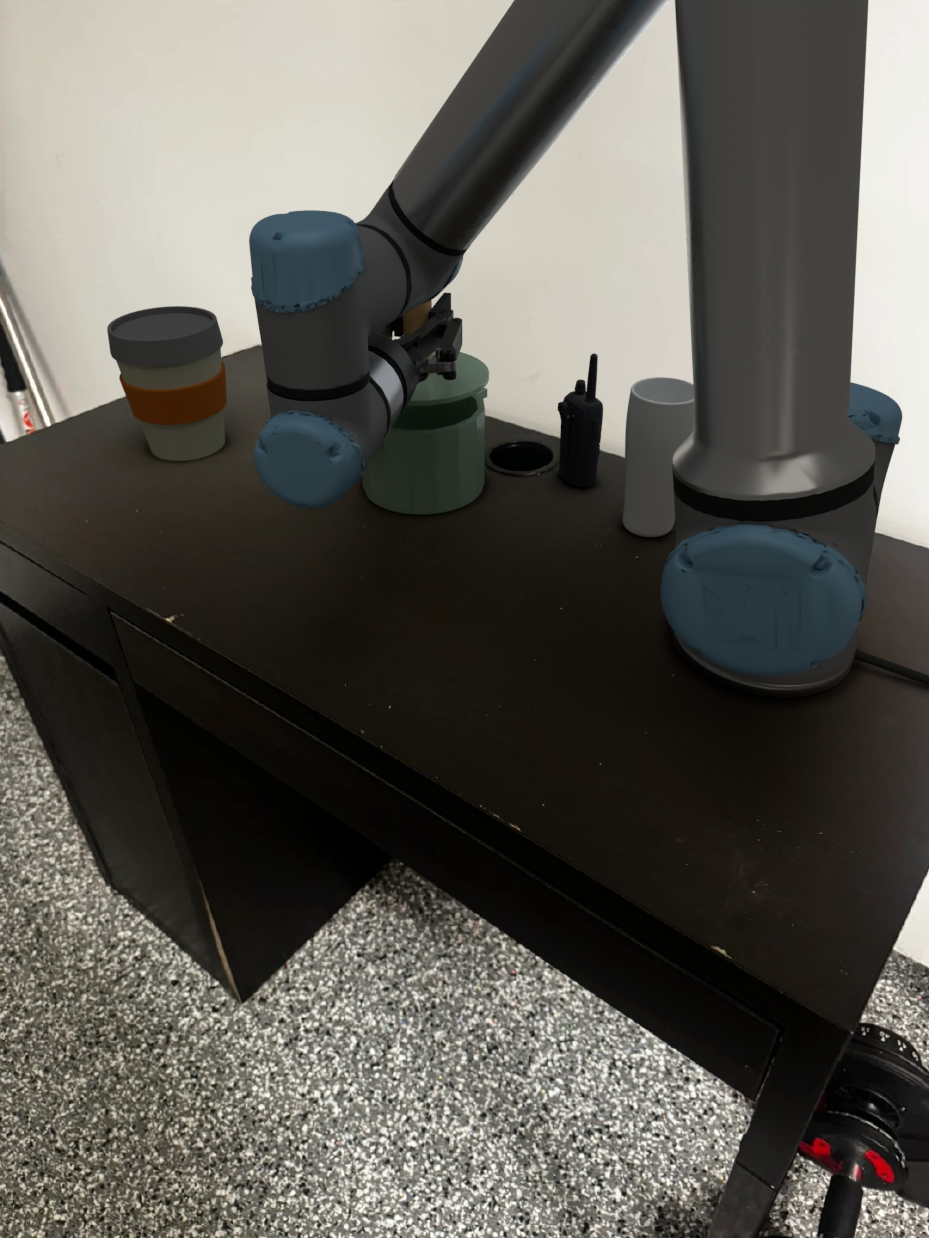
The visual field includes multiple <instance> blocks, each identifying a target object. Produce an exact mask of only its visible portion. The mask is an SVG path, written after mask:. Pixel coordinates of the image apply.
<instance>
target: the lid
mask: <svg viewBox="0 0 929 1238" xmlns="http://www.w3.org/2000/svg"><path fill="white" fill-rule="evenodd" d="M432 302H433V299H432V300H430V301H428V302H425V303H423V304H421V305H419V306H417V307H416V308H414V309H412V310H411V311H409V312H407V313H406V314H404V315H402V324H403V335H404V334H405V333H413V332H415V331H416V330H417V329H418V328H420V327H421V326H422V325H423V324H425V323H426V322H427V321H429V311H430V310H431V309H432V307H433V303H432ZM403 335H402V336H403ZM434 355H436V351H434V352H433V353H432V354H431V355H430V356H429V357H428V358H427V359H428V360H429V359H431V358H432V357H433V356H434ZM489 381H490V370H489V367H488V366H487V365H486V363H485V362H483V361H482V360H481V359H479V358H477V357H476V356H473V355H472V354H468V353H465V352H462V351H460V352H459V355H458V358H457V378H456V379H454V380H446V379H444V378H443V376H442V375H437V374H436V373H429V375H428V377H427V379H426V380H424V381H422V382H420V383H418V384H417V386H416V389H415V391H414V394H413V396H412V398H411V399H410V401H409V403H408V404H407V405H406V406H428V405H438V404H445V403H450V402H455V401H458V400H462V399H465V398H467V397H470V396H472V395H474V394H476V393H478V392H479V391H481V390H482V389H483V388H486V387H487V385H488V383H489Z"/></svg>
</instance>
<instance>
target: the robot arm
mask: <svg viewBox="0 0 929 1238" xmlns="http://www.w3.org/2000/svg"><path fill="white" fill-rule="evenodd" d="M670 1H671V0H513V2H511V4H510V6H509V7H508V9H507V10H506V11H505V13H504V15H503V16H502V18H501V19H500V21H498V23H497V24H496V26H495V28H494V29H493V30H492V32H491V34H490V35H489V37H488V38H487V39H486V41H485V43H484V44H483V45H482V46H481V48H480V50H479V51H478V53H476V56H475V57H474V59H473V60H472V61H471V63H470V65H469V66H468V68H467V69H466V71H465V72H464V73H463V75H462V76H461V78H460V79H459V81H458V82H457V84H456V85H455V87H454V88H453V89H452V91H451V92H450V94H449V96H448V97H447V98H446V100H445V101H444V103H443V104H442V106H441V107H440V109H439V110H438V112H437V113H436V115H435V116H434V117H433V119H432V120H431V122H430V123H429V125H428V127H427V128H426V130H424V132H423V134H422V135H421V137H420V138H419V140H418V141H417V142H416V144H415V146H414V147H413V149H412V150H411V152H410V153H409V154H408V156H407V157H406V159H405V160H404V162H403V163H402V165H401V166H400V167H399V169H398V170H397V172H396V174H395V175H394V178H393V179H392V181H391V182H390V184H389V185H388V187H387V188H386V189H385V190H384V192H383V193H382V194H381V196H380V197H379V199H378V201H377V202H376V204H375V205H374V207H373V208H372V209H371V210H370V212H369V213H368V214H367V215H366V217H364V218H363V219H362V220H359V221H357V222H356V221H354V220H353V219H352V218H351V217H349V216H348V215H345V214H343V213H339V212H336V211H330V210H329V211H328V210H318V209H317V210H315V209H313V210H312V209H307V210H306V209H305V210H293V211H288V212H287V213H276V214H271V215H268V216H265V217H263V218H261V219H260V220H258V221H257V222H256V223H255V224H254V225H253V227H252V228H251V230H250V233H249V236H248V237H249V239H248V245H249V246H248V247H249V256H250V265H251V276H252V277H251V278H250V281H251V286H250V290H251V294H252V296H253V299H254V304H255V313H256V318H257V325H258V330H259V337H260V343H261V344H260V345H261V349H262V356H263V357H262V358H263V364H264V370H265V371H264V372H265V377H266V392H267V397H268V398H267V400H268V406H269V412H270V417H269V418H268V420H267V421H265V425H264V426H263V427H262V430H261V431H260V433H259V435H258V437H257V439H256V442H255V444H254V451H253V460H254V466H255V469H256V471H257V474H258V477H259V478H260V480H261V481H262V484H263V485H264V486H265V487H266V488H267V490H269V491H270V493H271V494H273V495H274V496H275V497H276V498H278V499H279V500H281V501H283V502H284V503H286V504H288V505H290V506H293V507H296V508H300V509H305V510H320V509H324V508H327V507H331V506H332V505H334V504H335V503H337V502H338V501H340V500H341V499H342V498H343V497H344V496H345V495H346V494H347V492H348V491H349V490H350V489H351V488H352V487H353V486H355V485H356V484H357V483H358V482H359V480H361V479H362V474H363V471H364V470H365V468H366V466H367V465H368V463H369V462H370V460H371V458H372V457H373V455H374V454H375V452H376V450H377V449H378V447H379V446H380V444H381V443H382V441H383V439H384V437H385V436H386V434H387V433H388V431H389V430H390V428H391V427H392V425H393V424H394V422H395V421H396V419H397V418H398V417H399V416H400V414H401V413H402V411H403V410H404V408H405V407H406V405H407V404H408V403H409V401H410V399H411V398H412V396H413V394H414V391H415V389H416V386H417V384H418V383H420V382H422V381H424V380H426V379H427V377H428V375H429V373H436V374H437V375H442V376H443V378H444V379H446V380H454V379H456V378H457V358H458V355H459V352H461V351H462V350H461V349H462V347H463V319H462V318H461V317H454V314H455V313H454V309H452V292H443V291H444V290H445V289H446V288H447V287H448V286H449V285H450V284H451V283H452V282H453V281H455V279H456V277H457V275H458V274H459V273H460V270H461V267H462V266H463V265H462V264H463V262H464V255H465V254H466V252H467V251H468V249H470V247H471V245H472V244H473V243H474V242H475V240H476V239H477V238H478V237H479V236H480V234H481V233H482V232H483V230H484V229H485V228H486V227H487V225H488V224H489V223H490V222H491V221H492V219H493V218H494V217H495V216H496V215H497V213H498V212H499V211H500V209H502V208H503V206H504V205H505V204H506V203H507V201H508V200H509V199H510V197H511V196H512V195H513V193H514V192H515V191H516V190H517V189H518V188H519V187H520V185H521V184H522V183H523V181H524V180H525V179H526V177H528V176H529V174H530V172H532V171H533V169H534V168H535V167H536V165H537V164H538V163H539V162H540V161H541V159H543V157H544V156H545V155H546V153H547V152H548V151H549V150H550V148H551V147H552V146H553V145H554V143H556V141H557V139H558V138H559V137H560V136H561V135H562V133H563V132H564V131H565V130H566V129H567V127H568V126H569V125H570V124H571V123H572V121H573V120H574V119H575V118H576V116H577V115H578V114H579V113H580V111H581V110H582V109H583V108H584V107H585V105H586V104H587V103H588V102H589V101H590V99H591V98H592V97H593V96H594V94H595V93H596V92H597V90H598V89H599V88H600V87H601V85H603V83H604V82H605V81H606V80H607V78H608V77H609V76H610V75H611V73H612V72H613V71H614V70H615V69H616V68H617V66H618V65H619V64H620V63H621V61H622V60H623V59H624V57H625V56H626V55H627V54H628V53H629V51H631V49H632V48H633V46H635V44H636V43H637V42H638V41H639V39H640V38H641V37H642V35H643V34H644V33H645V32H646V30H648V28H649V27H650V26H651V24H652V23H653V22H654V21H655V20H656V18H657V17H658V16H659V15H660V13H661V12H662V11H663V10H664V8H665V7H666V6H667V5H668V3H670ZM674 9H675V12H674V13H675V32H676V51H677V52H676V53H677V54H676V55H677V70H678V71H677V72H678V73H677V75H678V93H679V94H678V95H679V96H678V97H679V113H680V134H681V137H680V138H681V155H682V177H683V178H682V179H683V197H684V198H683V199H684V219H685V237H686V239H685V240H686V242H685V243H686V256H687V257H686V259H687V260H686V261H687V281H688V282H687V284H688V305H689V320H690V321H689V322H690V323H689V324H690V342H691V343H690V344H691V364H692V384H693V388H694V409H695V431H694V432H693V433H692V434H691V435H690V436H689V437H688V438H687V439H686V440H685V441H684V442H683V443H682V444H681V445H680V447H679V448H678V449H677V450H676V451H675V453H674V456H673V460H672V472H673V488H674V509H675V522H674V525H675V542H674V548H673V550H672V551H670V553H669V554H668V556H667V558H666V560H665V562H664V563H665V564H664V565H663V567H662V569H663V572H662V573H661V583H660V602H661V607H662V611H663V613H664V616H665V618H666V621H667V622H668V625H669V626H670V637H671V640H672V644H673V646H674V648H675V649H676V651H677V653H678V654H679V656H680V657H681V658H682V659H683V661H685V662H686V663H687V664H688V665H689V666H690V667H691V668H692V669H694V670H695V671H696V672H698V673H699V674H700V675H702V676H704V677H705V678H707V679H708V680H710V681H712V682H714V683H717V684H719V685H721V686H723V687H725V688H728V689H731V690H734V691H737V692H740V693H743V694H747V695H752V696H756V697H757V696H758V697H764V698H772V699H795V698H796V699H797V698H803V697H804V698H805V697H810V696H814V695H818V694H821V693H824V692H826V691H828V690H831V689H833V688H834V687H835V686H837V685H838V684H840V683H842V681H843V680H844V679H846V677H847V676H848V674H849V673H850V671H851V669H852V665H853V663H854V660H856V661H860V662H862V663H865V664H868V665H870V666H873V667H876V668H879V669H882V670H885V671H888V672H890V673H893V674H896V675H899V676H901V677H904V678H907V679H910V680H911V681H912V680H913V681H915V682H918V683H920V684H924V685H926V686H929V674H926V673H923V672H920V671H917V670H915V669H912V668H910V667H906V666H904V665H901V664H898V663H895V662H892V661H889V660H887V659H884V658H881V657H878V656H876V655H874V654H869V653H867V652H864V651H861V650H858V649H857V647H858V641H859V637H858V636H859V634H858V624H859V622H860V621H862V618H863V617H864V614H865V611H866V607H867V605H866V604H867V590H866V588H867V581H868V575H869V569H870V563H871V558H872V552H873V545H874V539H875V533H876V528H877V521H878V517H879V511H880V505H881V499H882V493H883V489H884V486H885V485H884V484H885V482H886V478H887V475H888V474H887V473H888V471H889V467H890V463H891V460H892V457H893V454H894V450H895V447H896V446H897V445H899V444H900V441H901V437H900V436H899V435H900V431H901V426H902V421H903V411H902V409H901V406H900V405H899V404H898V402H897V401H896V400H894V398H892V397H891V396H889V395H887V394H886V393H883V392H882V391H880V390H877V389H875V388H871V387H869V386H867V385H863V384H859V383H856V382H852V381H851V379H852V378H851V377H852V360H853V338H854V316H855V296H856V295H855V293H856V273H857V272H856V271H857V251H858V230H859V212H860V211H859V209H860V189H861V188H860V187H861V170H862V169H861V168H862V163H861V162H862V147H863V144H862V143H863V124H864V105H865V104H864V103H865V82H866V81H865V79H866V61H867V41H868V39H867V38H868V22H869V21H868V18H869V0H674ZM442 292H443V293H442ZM441 293H442V294H441ZM440 294H441V296H440V297H439V298H438V299H437V301H436V302H435V303H434V304H433V305H432V309H431V310H430V311H429V321H427V322H426V323H425V324H423V325H422V326H421V327H420V328H418V329H417V330H416V331H415V332H413V333H405V334H404V335H403V324H402V315H404V314H406V313H407V312H409V311H411V310H412V309H414V308H416V307H417V306H419V305H421V304H423V303H425V302H428V301H430V300H432V301H433V300H434V299H435V298H437V297H438V296H439V295H440ZM394 337H396V338H394ZM434 351H436V355H434V356H433V357H432V358H431V359H429V360H428V359H427V358H428V357H429V356H430V355H431V354H432V353H433V352H434Z"/></svg>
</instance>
